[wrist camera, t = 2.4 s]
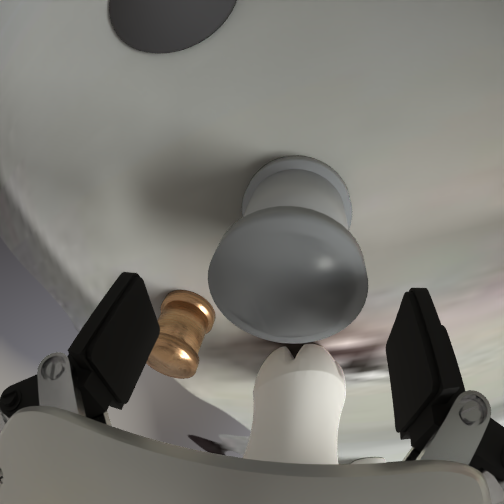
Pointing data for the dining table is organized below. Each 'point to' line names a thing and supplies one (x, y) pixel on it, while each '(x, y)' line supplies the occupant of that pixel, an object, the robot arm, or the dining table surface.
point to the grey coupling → (291, 256)
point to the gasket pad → (167, 22)
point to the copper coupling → (181, 333)
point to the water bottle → (297, 407)
